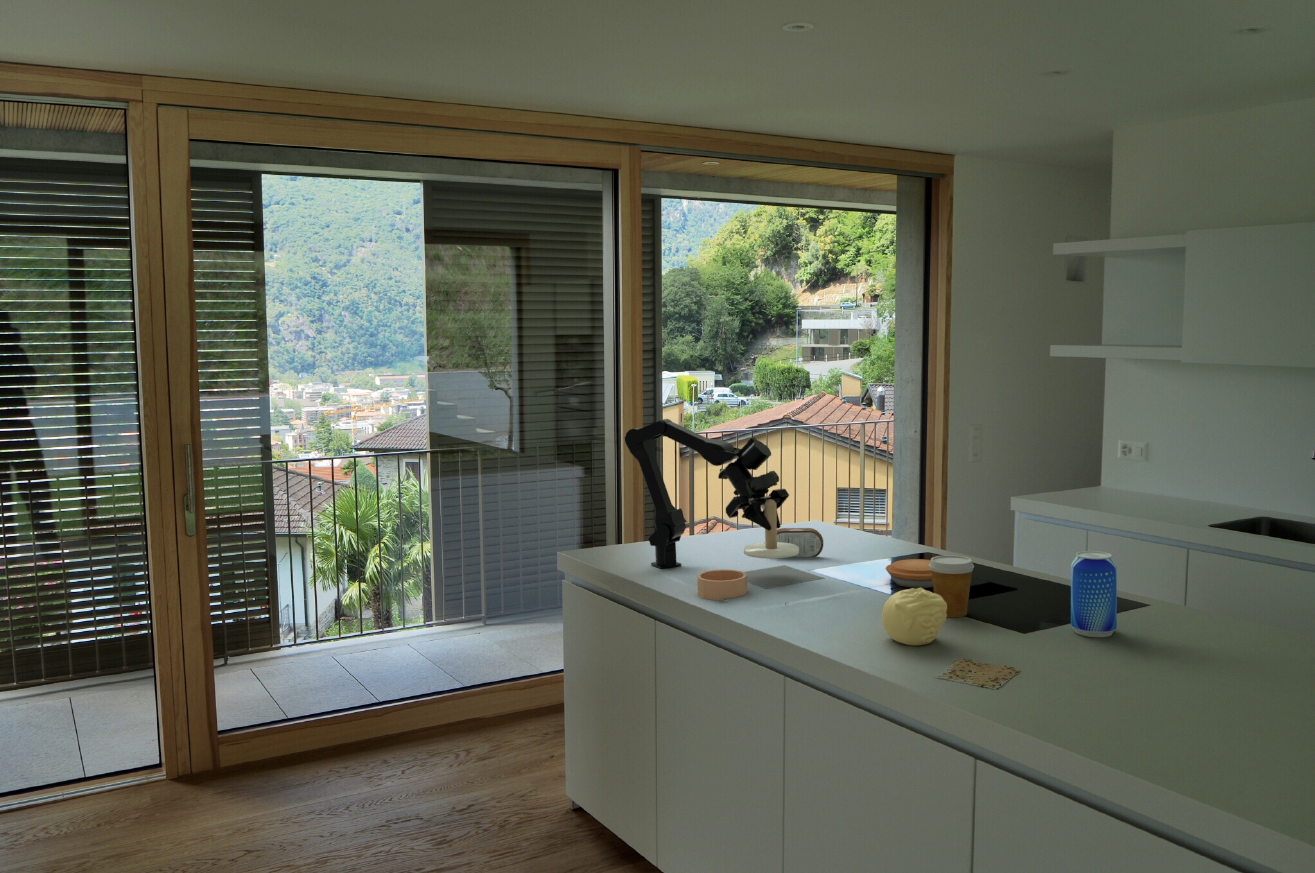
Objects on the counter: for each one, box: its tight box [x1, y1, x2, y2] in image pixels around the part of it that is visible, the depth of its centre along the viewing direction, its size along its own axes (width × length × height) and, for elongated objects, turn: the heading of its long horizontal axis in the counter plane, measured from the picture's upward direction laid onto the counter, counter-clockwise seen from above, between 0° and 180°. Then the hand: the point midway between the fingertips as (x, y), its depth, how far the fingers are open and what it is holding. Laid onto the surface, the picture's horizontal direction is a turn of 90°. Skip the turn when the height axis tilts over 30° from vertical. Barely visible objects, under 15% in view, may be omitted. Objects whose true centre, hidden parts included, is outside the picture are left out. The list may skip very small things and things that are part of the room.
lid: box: [743, 499, 799, 559], centre depth 251 cm, size 14×14×14 cm
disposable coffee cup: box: [929, 554, 975, 618], centre depth 215 cm, size 10×10×12 cm
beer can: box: [1070, 550, 1118, 638], centre depth 198 cm, size 8×8×16 cm
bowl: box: [696, 569, 749, 601], centre depth 240 cm, size 12×12×4 cm
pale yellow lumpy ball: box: [881, 588, 948, 646], centre depth 197 cm, size 11×12×11 cm
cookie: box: [938, 658, 1021, 688], centre depth 177 cm, size 12×12×1 cm
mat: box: [743, 564, 826, 590], centre depth 253 cm, size 18×18×1 cm
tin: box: [777, 527, 824, 558], centre depth 275 cm, size 15×3×8 cm, turn 84°
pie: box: [885, 558, 933, 589], centre depth 244 cm, size 15×16×5 cm
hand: (774, 528), depth 250 cm, fingers closed on lid, 3 cm apart
